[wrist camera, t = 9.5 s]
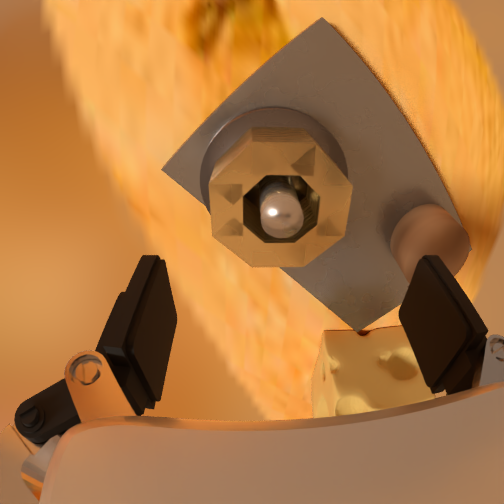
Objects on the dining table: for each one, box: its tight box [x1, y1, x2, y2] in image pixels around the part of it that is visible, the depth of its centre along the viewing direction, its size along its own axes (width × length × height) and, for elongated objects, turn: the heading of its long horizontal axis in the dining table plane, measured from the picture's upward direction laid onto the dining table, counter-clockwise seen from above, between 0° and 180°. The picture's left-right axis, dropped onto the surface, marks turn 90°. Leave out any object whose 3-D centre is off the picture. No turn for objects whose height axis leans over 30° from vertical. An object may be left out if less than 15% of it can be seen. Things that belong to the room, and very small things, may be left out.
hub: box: [200, 106, 348, 238], centre depth 17 cm, size 9×9×7 cm
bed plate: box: [161, 17, 472, 332], centre depth 21 cm, size 23×14×1 cm, turn 45°
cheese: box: [311, 326, 435, 418], centre depth 29 cm, size 10×11×10 cm
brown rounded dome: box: [390, 204, 470, 284], centre depth 21 cm, size 6×6×4 cm
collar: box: [209, 127, 353, 267], centre depth 16 cm, size 7×7×4 cm
